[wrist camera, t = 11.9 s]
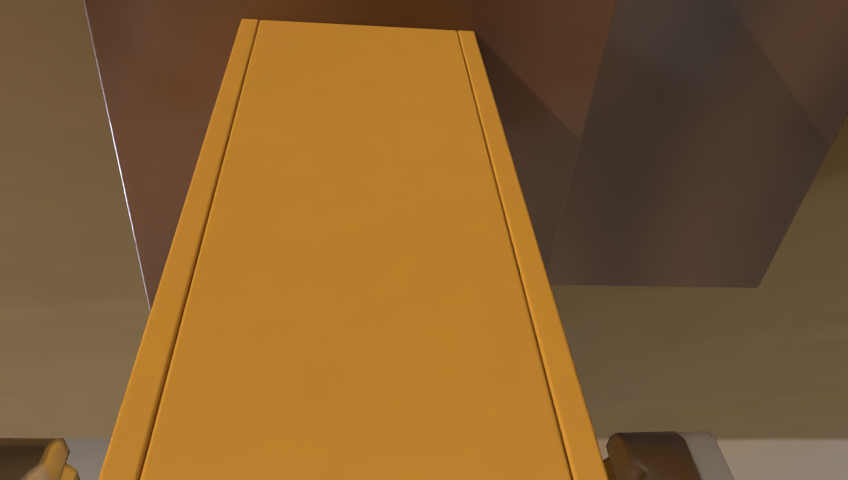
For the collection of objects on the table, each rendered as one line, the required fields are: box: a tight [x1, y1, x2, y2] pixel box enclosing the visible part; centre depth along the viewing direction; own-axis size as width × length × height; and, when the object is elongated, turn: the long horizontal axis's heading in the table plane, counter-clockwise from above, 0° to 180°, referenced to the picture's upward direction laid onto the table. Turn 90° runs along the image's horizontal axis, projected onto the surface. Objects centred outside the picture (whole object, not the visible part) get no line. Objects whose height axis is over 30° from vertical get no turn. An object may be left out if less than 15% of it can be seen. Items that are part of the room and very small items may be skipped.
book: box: [99, 19, 609, 480], centre depth 11 cm, size 4×9×11 cm, turn 175°
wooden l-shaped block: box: [83, 0, 848, 313], centre depth 20 cm, size 20×16×11 cm
